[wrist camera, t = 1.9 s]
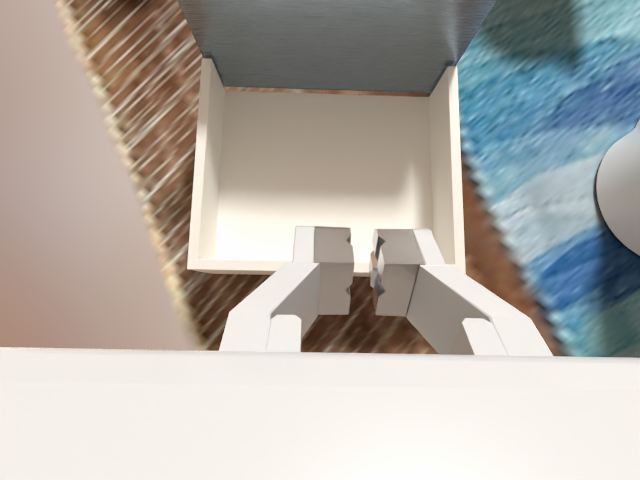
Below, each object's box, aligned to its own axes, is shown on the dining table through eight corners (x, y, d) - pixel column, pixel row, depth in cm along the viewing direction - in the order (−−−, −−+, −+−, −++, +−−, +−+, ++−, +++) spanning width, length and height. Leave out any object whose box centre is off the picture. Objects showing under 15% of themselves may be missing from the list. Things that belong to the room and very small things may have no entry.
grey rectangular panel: (438, 93, 36) (497, -1, 25) (216, 86, 36) (171, -13, 24) (437, 72, 36) (495, -29, 25) (217, 65, 36) (174, -42, 24)
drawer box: (435, 278, 36) (465, 274, 29) (211, 273, 35) (187, 269, 28) (430, 107, 38) (457, 66, 31) (221, 101, 38) (202, 58, 31)
